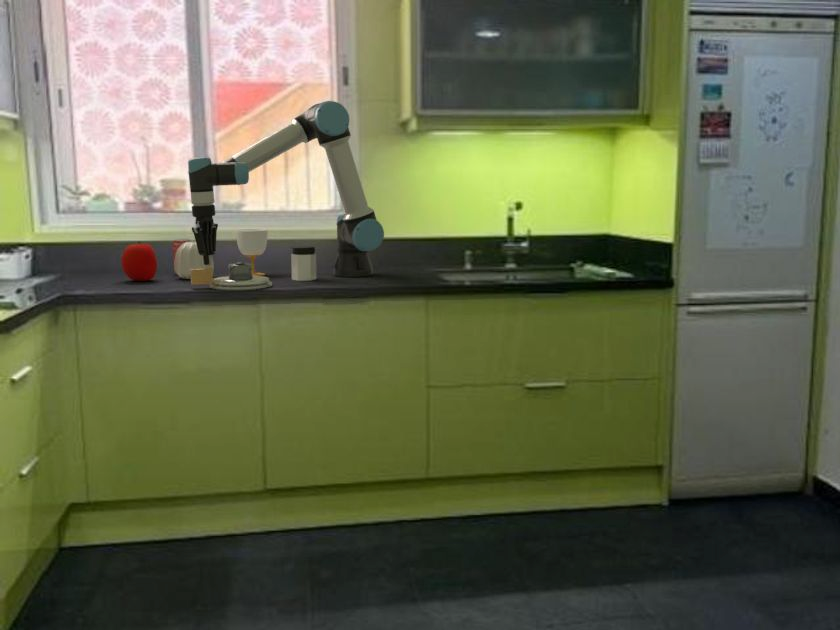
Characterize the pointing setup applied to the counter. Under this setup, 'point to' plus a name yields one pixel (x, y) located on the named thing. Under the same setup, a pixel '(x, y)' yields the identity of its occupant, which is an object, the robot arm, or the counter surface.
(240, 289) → the base
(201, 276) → the turntable
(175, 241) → the soda can
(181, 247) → the vase
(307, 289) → the counter surface
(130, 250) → the tomato
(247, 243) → the cup
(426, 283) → the counter surface
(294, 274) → the jar
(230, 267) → the grey stone pot
